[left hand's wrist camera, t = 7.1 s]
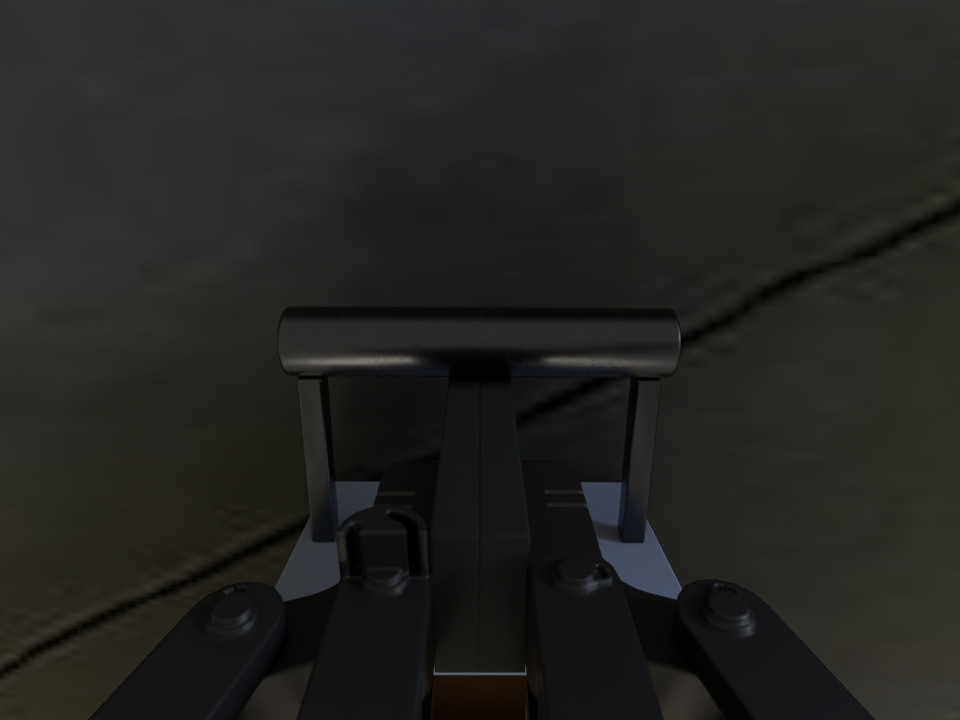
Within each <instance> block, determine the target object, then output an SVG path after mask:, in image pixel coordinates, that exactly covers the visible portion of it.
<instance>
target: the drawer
mask: <svg viewBox="0 0 960 720" xmlns="http://www.w3.org/2000/svg"><path fill="white" fill-rule="evenodd" d="M277 345H278V355H279V360H280V364H281V367H282V369H283V371H284V372H285V373H286V374H287V375H289V376H300V377H299V378H298V379H297V384H298V395H299V406H300V417H301V428H302V438H303V449H304V460H305V471H306V482H307V493H308V503H309V514H310V518H309V520H308V522H307V524H306V526H305V528H304V530H303V532H302V534H301V536H300V538H299V540H298V542H297V544H296V546H295V548H294V550H293V552H292V554H291V556H290V558H289V560H288V562H287V564H286V566H285V568H284V570H283V572H282V574H281V576H280V578H279V580H278V582H277V584H276V586H275V589H276V590H277V591H278V592H279V594H280V595H281V596H282V597H283V602H284V601H288V600H293V599H297V598H301V597H305V596H309V595H312V594H315V593H318V592H321V591H324V590H326V589H328V588H330V587H332V586H334V585H336V584H337V583H338V582H339V581H340V569H339V560H338V551H337V542H336V533H335V532H336V531H337V529H338V528H339V526H340V525H341V523H342V522H343V521H344V520H346V519H347V518H348V517H350V516H351V515H353V514H354V513H356V512H359V511H361V510H364V509H367V508H370V507H373V504H374V501H375V498H376V496H377V491H378V487H379V484H380V482H353V481H335V468H334V455H333V442H332V429H331V416H330V402H329V389H328V376H374V377H602V378H631V381H630V392H629V404H628V415H627V426H626V438H625V449H624V461H623V472H622V482H581V485H582V489H583V494H584V496H585V499H586V502H587V507H588V509H589V513H590V516H591V519H592V523H593V526H594V530H595V533H596V537H597V540H598V543H599V547H600V550H601V554H602V557H603V558H604V559H605V560H606V561H607V562H609V563H610V564H611V565H612V566H613V567H614V569H615V570H616V572H617V574H618V576H619V577H620V579H621V580H622V581H623V582H625V583H627V584H629V585H631V586H633V587H634V588H636V589H640V590H643V591H646V592H649V593H652V594H656V595H660V596H664V597H669V598H673V599H677V596H678V594H679V593H680V592H681V590H682V588H681V586H680V584H679V582H678V580H677V578H676V576H675V574H674V572H673V570H672V568H671V566H670V564H669V562H668V560H667V558H666V556H665V554H664V552H663V550H662V548H661V546H660V544H659V542H658V540H657V538H656V536H655V535H654V533H653V531H652V529H651V527H650V525H649V523H648V521H647V512H648V503H649V493H650V484H651V474H652V464H653V455H654V445H655V436H656V426H657V416H658V407H659V397H660V388H661V380H660V379H659V378H668V377H671V376H672V375H673V374H674V373H675V372H676V370H677V367H678V364H679V360H680V354H681V329H680V324H679V320H678V317H677V315H676V313H675V312H674V311H673V310H671V309H669V308H522V307H325V306H290V307H288V308H286V309H285V310H284V311H283V313H282V315H281V318H280V322H279V327H278V336H277ZM433 690H434V712H433V720H525V715H526V690H527V674H526V666H525V673H435V667H434V676H433Z"/></svg>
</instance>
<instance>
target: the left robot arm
mask: <svg viewBox="0 0 960 720" xmlns="http://www.w3.org/2000/svg"><path fill="white" fill-rule="evenodd" d="M335 533H336V542H337V551H338V560H339V569H340V581H339V582H338V583H337V584H336V585H334V586H332V587H330V588H328V589H326V590H324V591H321V592H318V593H315V594H312V595H309V596H305V597H301V598H297V599H293V600H288V601H284V602H283V597H282V596H281V595H280V594H279V592H278V591H277V590H276V589H275V588H274V587H272V586H269V585H267V584H264V583H262V582H242V583H237V584H233V585H229V586H225V587H223V588H221V589H219V590H217V591H215V592H213V593H211V594H209V595H207V596H206V597H204V598H203V599H202V600H201V601H200V602H198V603H197V604H196V605H195V606H194V607H192V608H191V609H190V611H189V612H188V613H187V614H186V615H185V616H184V617H183V618H182V619H181V620H180V621H179V622H178V623H177V625H176V626H175V627H174V628H173V629H172V630H171V631H170V632H169V633H168V634H167V635H166V636H165V637H164V639H163V640H162V641H161V642H160V643H159V644H158V645H157V646H156V647H155V648H154V649H153V650H152V651H151V653H150V654H149V655H148V656H147V657H146V658H145V659H144V660H143V661H142V662H141V663H140V664H139V665H138V667H137V668H136V669H135V670H134V671H133V672H132V673H131V674H130V675H129V676H128V677H127V678H126V679H125V681H124V682H123V683H122V684H121V685H120V686H119V687H118V688H117V689H116V690H115V691H114V692H113V693H112V694H111V696H110V697H109V698H108V699H107V700H106V701H105V702H104V703H103V704H102V705H101V706H100V707H99V708H98V710H97V711H96V712H95V713H94V714H93V715H92V716H91V717H90V718H89V719H88V720H433V712H434V690H433V676H434V667H435V673H525V666H526V674H527V690H526V715H525V720H875V719H874V718H873V717H872V716H871V714H870V713H869V712H868V711H867V710H866V709H865V708H864V707H863V706H862V705H861V704H860V703H859V702H858V701H857V700H856V698H855V697H854V696H853V695H852V694H851V693H850V692H849V691H848V690H847V689H846V688H845V687H844V686H843V685H842V683H841V682H840V681H839V680H838V679H837V678H836V677H835V676H834V675H833V674H832V673H831V672H830V671H829V670H828V669H827V667H826V666H825V665H824V664H823V663H822V662H821V661H820V660H819V659H818V658H817V657H816V656H815V655H814V654H813V652H812V651H811V650H810V649H809V648H808V647H807V646H806V645H805V644H804V643H803V642H802V641H801V640H800V639H799V637H798V636H797V635H796V634H795V633H794V632H793V631H792V630H791V629H790V628H789V627H788V626H787V625H786V624H785V623H784V621H783V620H782V619H781V618H780V617H779V616H778V615H777V614H776V613H775V612H774V611H773V610H772V609H771V608H770V606H769V605H768V604H766V603H765V602H764V601H763V600H761V599H760V598H759V597H758V596H756V595H755V594H754V593H753V592H751V591H749V590H746V589H744V588H742V587H740V586H738V585H736V584H733V583H729V582H725V581H720V580H698V581H695V582H693V583H690V584H688V585H685V587H684V588H683V589H682V590H681V592H680V593H679V594H678V596H677V599H673V598H669V597H664V596H660V595H656V594H652V593H649V592H646V591H643V590H640V589H636V588H634V587H633V586H631V585H629V584H627V583H625V582H623V581H622V580H621V579H620V577H619V576H618V574H617V572H616V570H615V569H614V567H613V566H612V565H611V564H610V563H609V562H607V561H606V560H605V559H604V558H603V557H602V554H601V550H600V547H599V543H598V540H597V537H596V533H595V530H594V526H593V523H592V519H591V516H590V513H589V509H588V507H587V502H586V499H585V496H584V494H583V489H582V485H581V482H580V478H579V475H578V474H577V473H576V472H575V471H574V470H573V469H572V468H571V467H570V466H569V465H568V464H567V463H566V462H565V461H521V457H520V449H519V442H518V434H517V426H516V418H515V410H514V402H513V394H512V386H511V378H510V377H449V385H448V393H447V401H446V409H445V417H444V425H443V433H442V441H441V449H440V457H439V463H395V464H394V465H393V466H392V467H391V468H390V469H389V470H388V471H387V472H386V473H385V474H384V475H383V476H382V477H381V480H380V484H379V487H378V491H377V496H376V498H375V501H374V504H373V507H370V508H367V509H364V510H361V511H359V512H356V513H354V514H353V515H351V516H350V517H348V518H347V519H346V520H344V521H343V522H342V523H341V525H340V526H339V528H338V529H337V531H336V532H335Z"/></svg>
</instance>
